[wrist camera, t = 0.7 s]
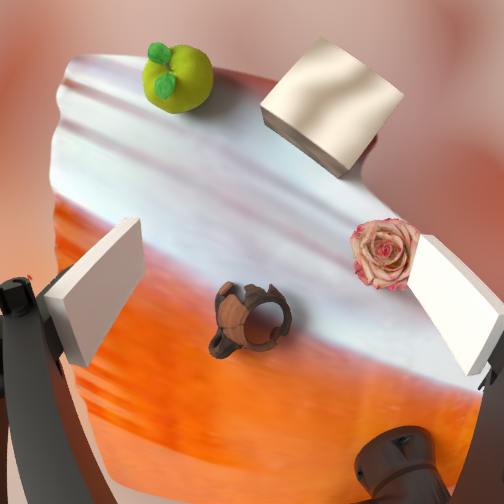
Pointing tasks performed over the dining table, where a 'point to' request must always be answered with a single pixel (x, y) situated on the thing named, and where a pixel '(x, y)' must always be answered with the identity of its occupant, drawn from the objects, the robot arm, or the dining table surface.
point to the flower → (385, 253)
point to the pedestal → (330, 106)
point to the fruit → (177, 77)
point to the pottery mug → (244, 320)
